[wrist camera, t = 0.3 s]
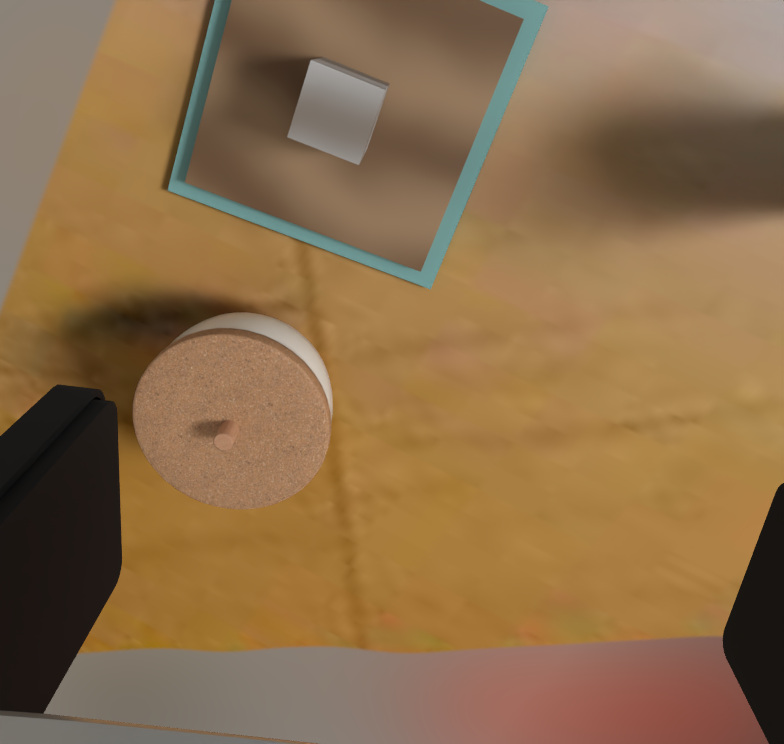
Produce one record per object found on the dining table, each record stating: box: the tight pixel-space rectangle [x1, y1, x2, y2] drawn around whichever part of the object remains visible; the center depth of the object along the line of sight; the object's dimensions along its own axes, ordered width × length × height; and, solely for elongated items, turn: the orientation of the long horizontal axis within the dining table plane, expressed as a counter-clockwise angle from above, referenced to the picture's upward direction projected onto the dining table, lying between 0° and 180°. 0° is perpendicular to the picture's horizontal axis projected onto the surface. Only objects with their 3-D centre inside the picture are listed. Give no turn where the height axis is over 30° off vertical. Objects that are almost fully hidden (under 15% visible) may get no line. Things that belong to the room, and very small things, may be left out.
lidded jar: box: [133, 312, 333, 509], centre depth 43 cm, size 11×11×9 cm
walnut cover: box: [185, 0, 524, 272], centre depth 38 cm, size 14×14×6 cm
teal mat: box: [168, 0, 548, 289], centre depth 41 cm, size 16×16×1 cm
